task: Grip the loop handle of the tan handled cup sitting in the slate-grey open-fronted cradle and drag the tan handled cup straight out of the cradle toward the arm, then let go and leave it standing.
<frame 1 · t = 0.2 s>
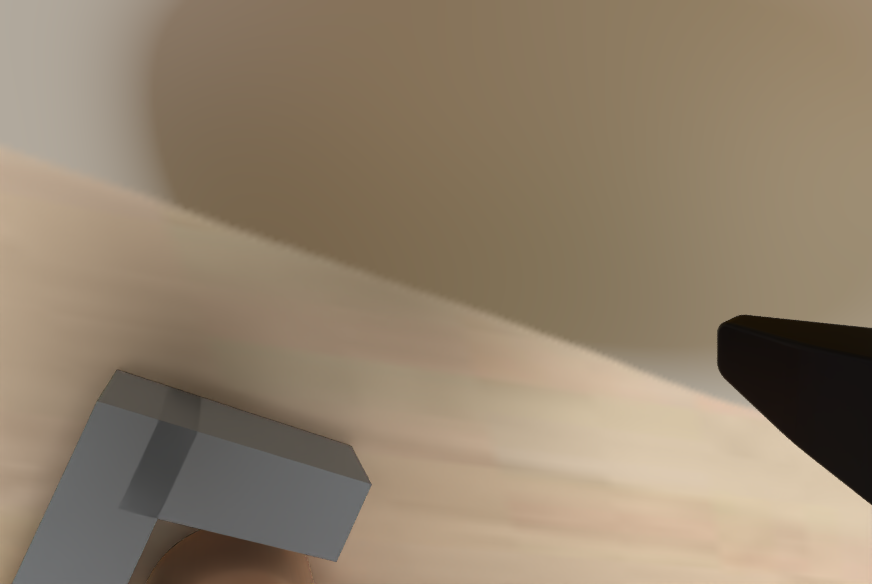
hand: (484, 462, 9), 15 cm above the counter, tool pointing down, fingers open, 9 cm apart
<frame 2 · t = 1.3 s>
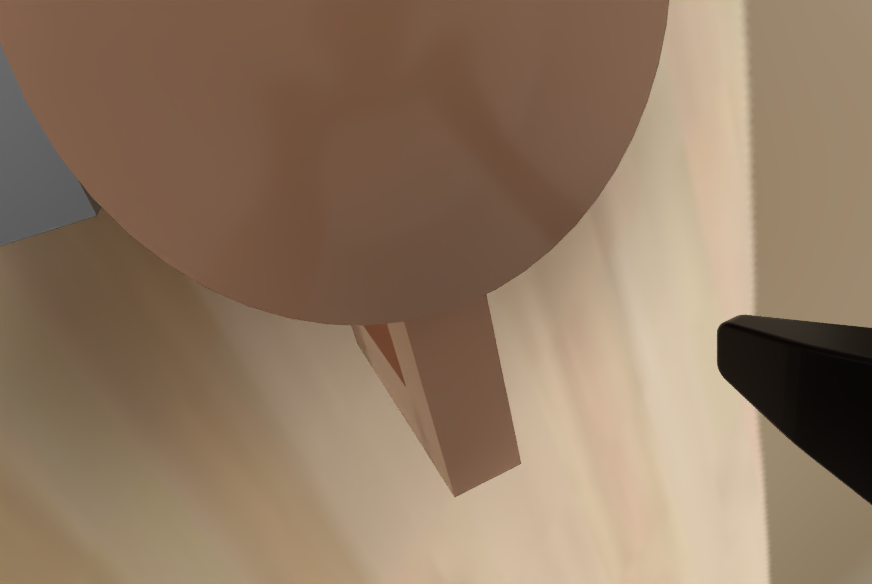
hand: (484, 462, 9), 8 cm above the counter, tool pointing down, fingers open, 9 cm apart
cradle: (267, 36, 13), on the counter
tan handled cup: (267, 36, 13), resting in cradle
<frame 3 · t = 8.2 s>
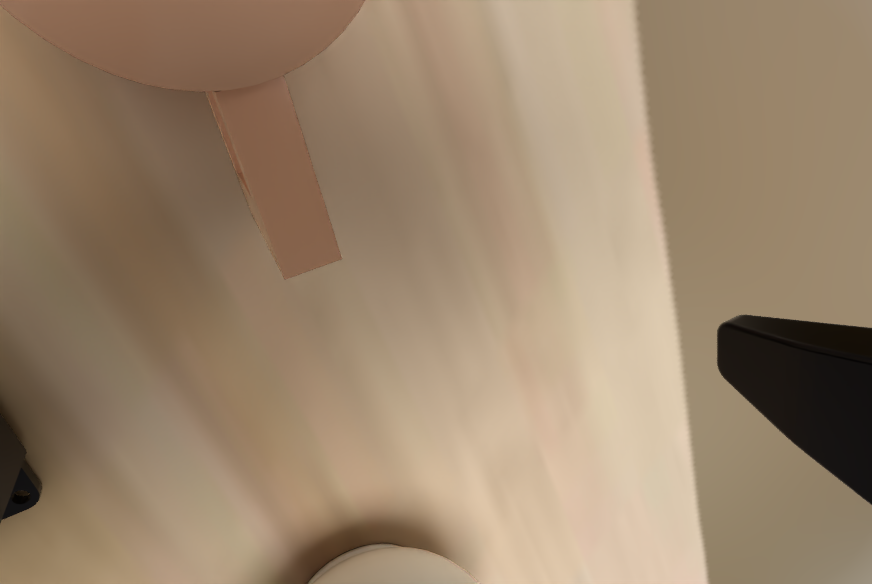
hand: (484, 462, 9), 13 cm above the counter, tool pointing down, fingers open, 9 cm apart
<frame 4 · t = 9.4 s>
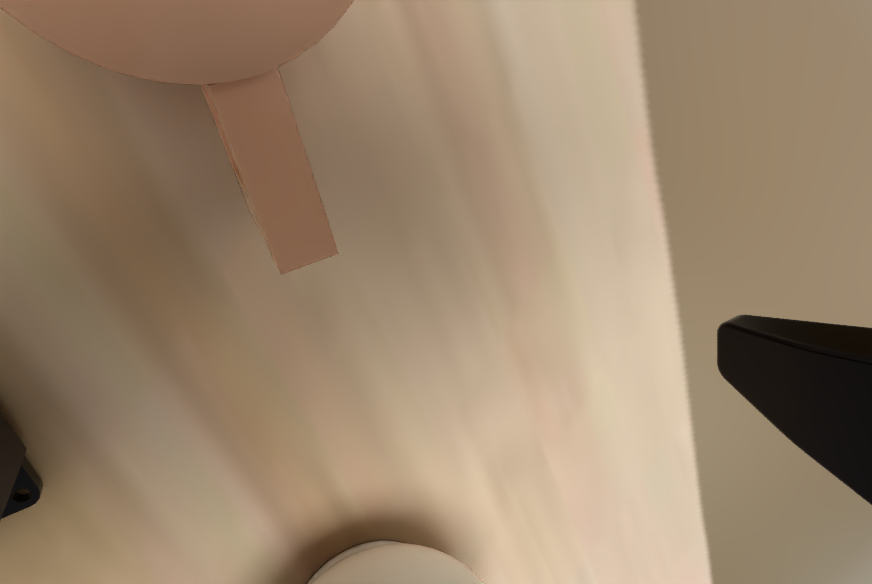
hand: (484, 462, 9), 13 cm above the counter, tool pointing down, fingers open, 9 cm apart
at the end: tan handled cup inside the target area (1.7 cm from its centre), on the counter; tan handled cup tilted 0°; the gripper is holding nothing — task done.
